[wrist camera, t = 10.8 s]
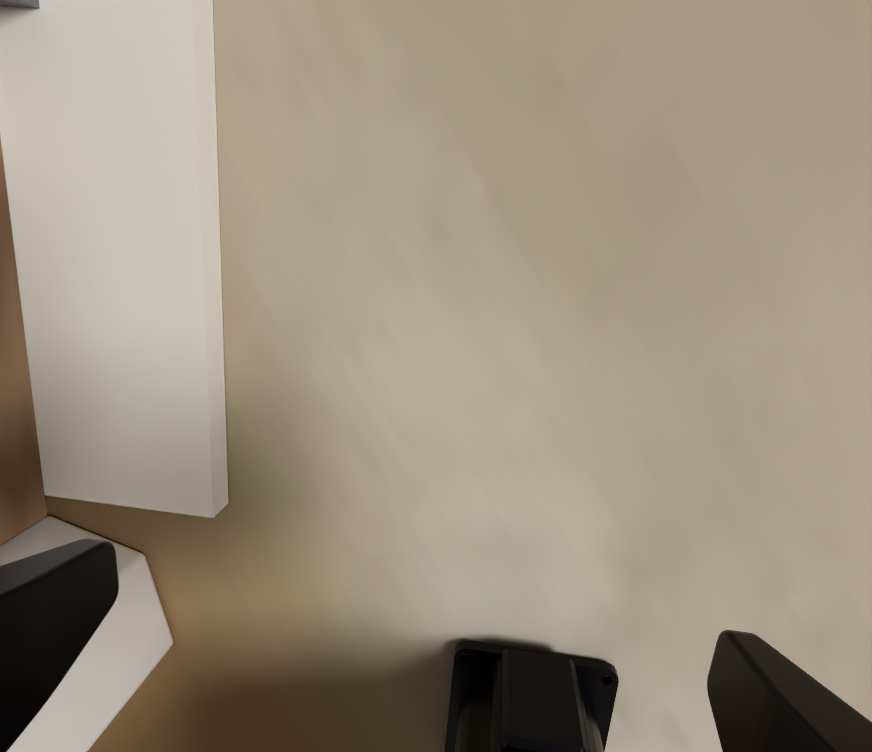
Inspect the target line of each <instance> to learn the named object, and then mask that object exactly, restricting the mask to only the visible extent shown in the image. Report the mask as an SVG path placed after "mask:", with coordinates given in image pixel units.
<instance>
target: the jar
mask: <svg viewBox="0 0 872 752" xmlns="http://www.w3.org/2000/svg"><path fill="white" fill-rule="evenodd" d="M85 538H90V539H97V540H104V541H109V542H111V543H112V544H113V545H114V547H115V550H116V559H117V569H118V579H119V592H118V596H117V599H116V601H115V603H114V605H113V606H112V608H111V609H110V611H109V612H108V614H107V615H106V617H105V618H104V620H103V621H102V623H101V624H100V625H99V627H98V628H97V630H96V631H95V633H94V634H93V636H92V637H91V639H90V640H89V642H88V643H87V645H86V646H85V648H84V649H83V650H82V652H81V653H80V655H79V656H78V658H77V659H76V661H75V662H74V664H73V665H72V667H71V668H70V670H69V671H68V672H67V674H66V675H65V677H64V678H63V680H62V681H61V683H60V684H59V686H58V687H57V688H56V690H55V691H54V692H53V694H52V695H51V697H50V698H49V699H48V701H47V702H46V703H45V705H44V706H43V707H42V709H41V710H40V711H39V712H38V714H37V715H36V716H35V718H34V719H33V720H32V721H31V722H30V724H29V725H28V726H27V727H26V729H25V730H24V731H23V732H22V734H21V735H20V736H19V737H18V739H17V740H16V741H15V742H14V743H13V745H12V746H11V747H10V748H9V750H8V751H7V752H87V751H88V750H89V749H90V748H91V746H92V745H93V744H94V743H95V741H96V740H97V739H98V738H99V736H100V735H101V734H102V733H103V731H104V730H105V729H106V728H107V726H108V725H109V724H110V723H111V721H112V720H113V719H114V718H115V716H116V715H117V714H118V713H119V711H120V710H121V709H122V708H123V706H124V705H125V704H126V703H127V701H128V700H129V699H130V698H131V696H132V695H133V694H134V693H135V691H136V690H137V689H138V688H139V686H140V685H141V684H142V683H143V681H144V680H145V679H146V678H147V676H148V675H149V674H150V673H151V671H152V670H153V669H154V668H155V666H156V665H157V664H158V663H159V661H160V660H161V659H162V658H163V656H164V655H165V654H166V653H167V651H168V650H169V649H170V648H171V646H172V644H173V638H172V635H171V632H170V629H169V626H168V623H167V620H166V617H165V614H164V611H163V608H162V605H161V602H160V599H159V596H158V593H157V590H156V587H155V584H154V581H153V578H152V575H151V572H150V569H149V566H148V563H147V560H146V557H145V555H144V554H143V553H140V552H138V551H135V550H133V549H131V548H128V547H126V546H123V545H121V544H118V543H116V542H113V541H111V540H108V539H106V538H103V537H101V536H99V535H96V534H94V533H91V532H89V531H86V530H84V529H81V528H79V527H76V526H74V525H72V524H69V523H67V522H64V521H62V520H59V519H57V518H54V517H51V516H46V517H44V518H42V519H41V520H39V521H37V522H36V523H34V524H33V525H31V526H29V527H28V528H26V529H25V530H23V531H21V532H20V533H18V534H17V535H15V536H13V537H12V538H10V539H9V540H7V541H5V542H4V543H2V544H1V545H0V566H2V565H5V564H8V563H11V562H14V561H17V560H20V559H23V558H26V557H29V556H32V555H35V554H38V553H41V552H44V551H47V550H50V549H53V548H56V547H59V546H62V545H65V544H68V543H71V542H74V541H77V540H80V539H85Z"/></svg>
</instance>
